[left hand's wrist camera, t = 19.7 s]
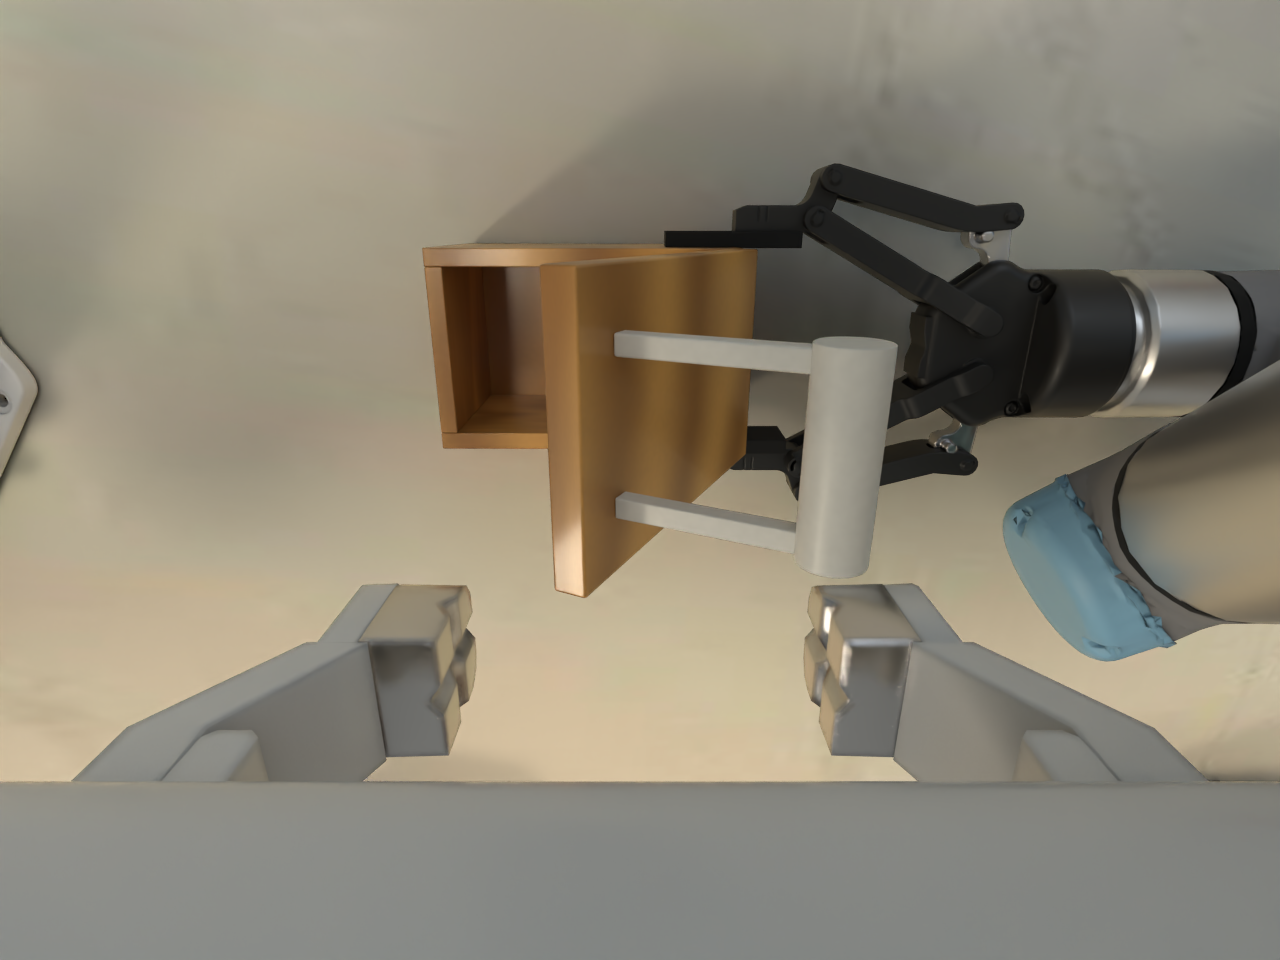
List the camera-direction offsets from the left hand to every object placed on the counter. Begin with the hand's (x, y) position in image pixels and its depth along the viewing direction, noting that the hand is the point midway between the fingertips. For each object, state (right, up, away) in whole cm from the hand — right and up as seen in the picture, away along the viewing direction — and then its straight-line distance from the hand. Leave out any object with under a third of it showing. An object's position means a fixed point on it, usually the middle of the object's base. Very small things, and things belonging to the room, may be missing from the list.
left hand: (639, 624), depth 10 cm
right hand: (+1, +9, +25) cm, 27 cm away
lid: (+1, +6, +16) cm, 17 cm away
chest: (-3, +11, +31) cm, 33 cm away
